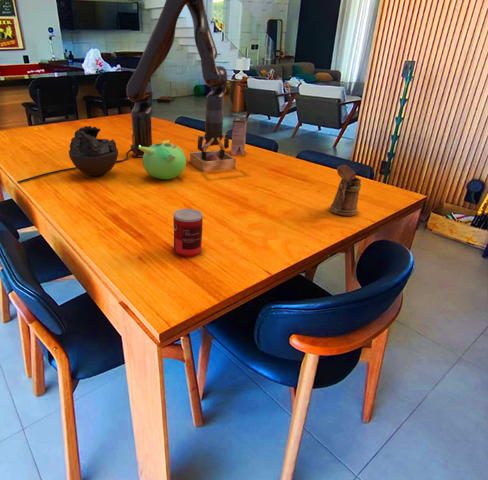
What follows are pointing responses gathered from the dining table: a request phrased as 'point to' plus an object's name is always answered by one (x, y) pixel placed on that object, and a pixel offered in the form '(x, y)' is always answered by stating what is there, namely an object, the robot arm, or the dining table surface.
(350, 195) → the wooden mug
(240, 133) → the coffee box
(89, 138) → the coal bowl
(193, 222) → the canned food
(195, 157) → the brown wooden tray
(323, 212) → the dining table surface
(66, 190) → the dining table surface
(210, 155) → the sweet potato
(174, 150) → the toy bird
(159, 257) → the dining table surface
